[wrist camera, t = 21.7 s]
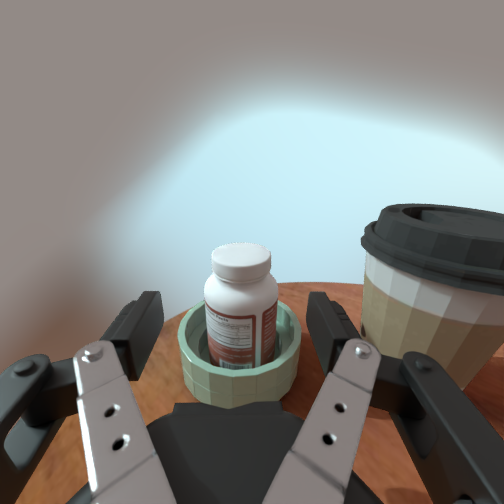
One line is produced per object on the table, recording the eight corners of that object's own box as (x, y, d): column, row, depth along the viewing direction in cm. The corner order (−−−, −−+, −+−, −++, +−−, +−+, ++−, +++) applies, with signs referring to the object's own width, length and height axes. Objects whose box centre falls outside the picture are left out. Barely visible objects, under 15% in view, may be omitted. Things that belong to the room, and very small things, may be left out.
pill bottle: (254, 328, 27) (256, 234, 23) (287, 368, 22) (298, 259, 18) (200, 348, 24) (191, 246, 20) (224, 399, 19) (219, 278, 15)
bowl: (229, 451, 16) (227, 407, 15) (163, 356, 24) (157, 319, 22) (319, 365, 23) (326, 328, 21) (246, 312, 30) (246, 281, 29)
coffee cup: (348, 320, 29) (375, 196, 23) (467, 360, 24) (540, 212, 18) (321, 395, 20) (354, 223, 14) (503, 485, 15) (672, 272, 9)
